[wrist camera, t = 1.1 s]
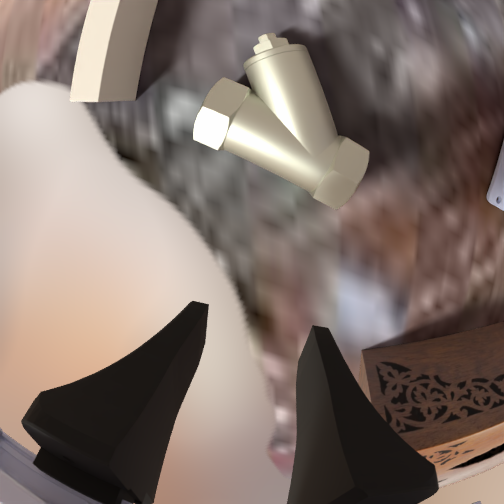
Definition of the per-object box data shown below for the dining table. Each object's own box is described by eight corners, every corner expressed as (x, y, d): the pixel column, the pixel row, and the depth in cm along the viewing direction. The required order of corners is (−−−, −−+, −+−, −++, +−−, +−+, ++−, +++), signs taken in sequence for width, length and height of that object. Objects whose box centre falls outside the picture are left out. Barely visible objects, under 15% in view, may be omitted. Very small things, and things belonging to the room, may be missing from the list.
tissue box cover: (351, 430, 28) (354, 506, 19) (361, 348, 22) (378, 458, 13) (523, 384, 23) (546, 438, 14) (565, 298, 17) (609, 356, 8)
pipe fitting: (256, 37, 13) (205, 137, 16) (249, 12, 10) (184, 138, 12) (382, 101, 14) (329, 198, 17) (408, 95, 11) (342, 217, 13)
